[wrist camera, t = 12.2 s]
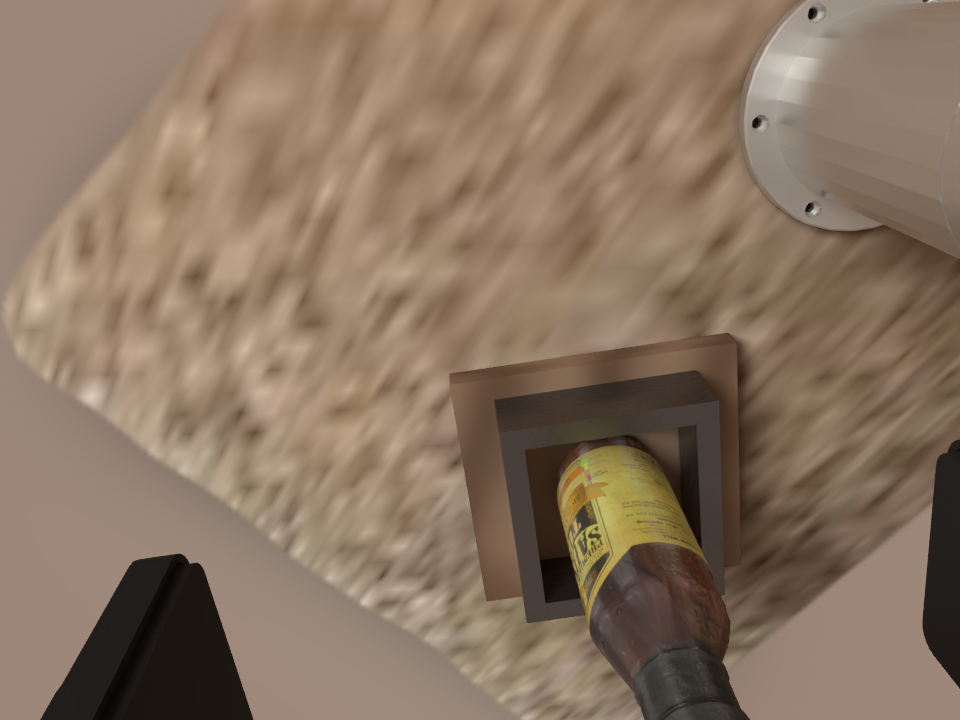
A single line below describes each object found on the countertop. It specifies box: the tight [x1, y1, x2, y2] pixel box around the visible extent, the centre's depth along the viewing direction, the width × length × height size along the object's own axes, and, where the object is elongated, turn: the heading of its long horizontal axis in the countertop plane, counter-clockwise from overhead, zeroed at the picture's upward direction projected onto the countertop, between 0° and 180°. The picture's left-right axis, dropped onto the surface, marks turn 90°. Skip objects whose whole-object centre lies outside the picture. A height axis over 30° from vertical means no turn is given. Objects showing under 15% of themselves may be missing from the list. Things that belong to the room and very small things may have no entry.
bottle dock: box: [449, 333, 741, 623], centre depth 47 cm, size 16×15×6 cm
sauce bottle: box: [557, 435, 750, 720], centre depth 39 cm, size 7×6×20 cm
